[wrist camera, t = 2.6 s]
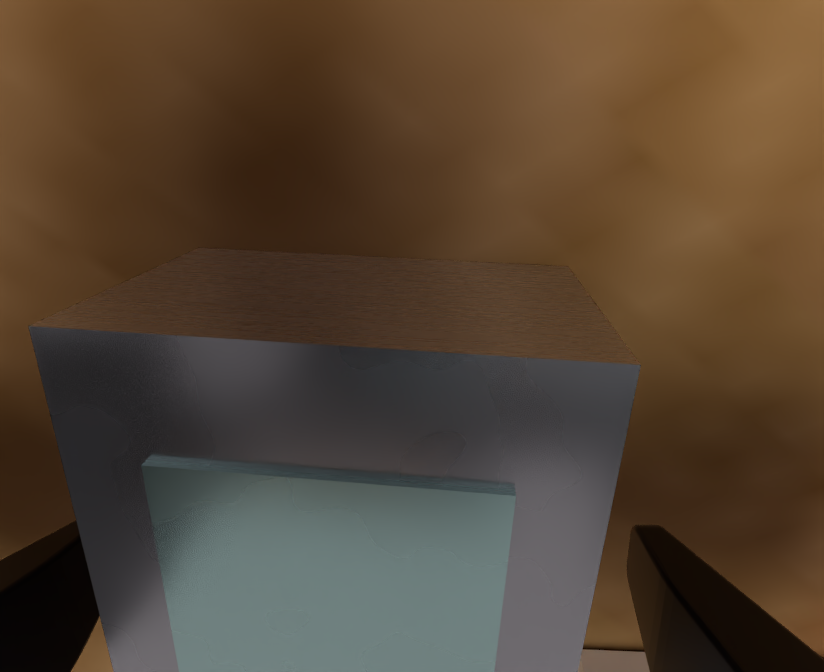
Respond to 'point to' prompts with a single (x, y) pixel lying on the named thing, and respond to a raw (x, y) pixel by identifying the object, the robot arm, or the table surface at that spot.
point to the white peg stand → (613, 661)
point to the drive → (340, 461)
